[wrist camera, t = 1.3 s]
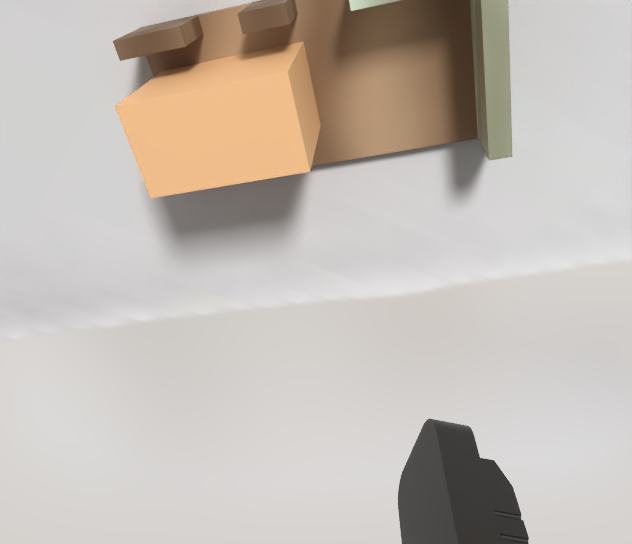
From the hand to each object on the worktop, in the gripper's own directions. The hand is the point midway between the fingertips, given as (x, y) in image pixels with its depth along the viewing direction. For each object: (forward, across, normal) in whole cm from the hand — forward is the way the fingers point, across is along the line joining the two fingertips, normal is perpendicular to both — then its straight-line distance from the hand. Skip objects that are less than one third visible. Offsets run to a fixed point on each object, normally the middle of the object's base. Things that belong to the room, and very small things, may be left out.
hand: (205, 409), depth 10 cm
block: (+20, +2, 0) cm, 20 cm away
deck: (+21, -1, -2) cm, 21 cm away
